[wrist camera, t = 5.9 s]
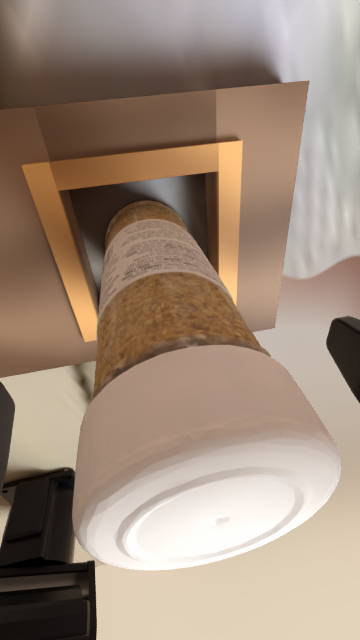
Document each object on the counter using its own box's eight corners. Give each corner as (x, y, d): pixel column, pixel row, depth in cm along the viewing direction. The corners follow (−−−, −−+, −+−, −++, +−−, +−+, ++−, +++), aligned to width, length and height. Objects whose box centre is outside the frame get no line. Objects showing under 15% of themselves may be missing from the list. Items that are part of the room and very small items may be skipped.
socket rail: (261, 310, 20) (276, 330, 18) (-154, 383, 17) (-187, 415, 15) (284, 85, 13) (313, 79, 11) (-413, 151, 10) (-534, 158, 8)
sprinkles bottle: (166, 290, 17) (249, 573, 6) (92, 263, 16) (32, 590, 5) (203, 220, 15) (412, 460, 4) (122, 179, 14) (142, 414, 3)
